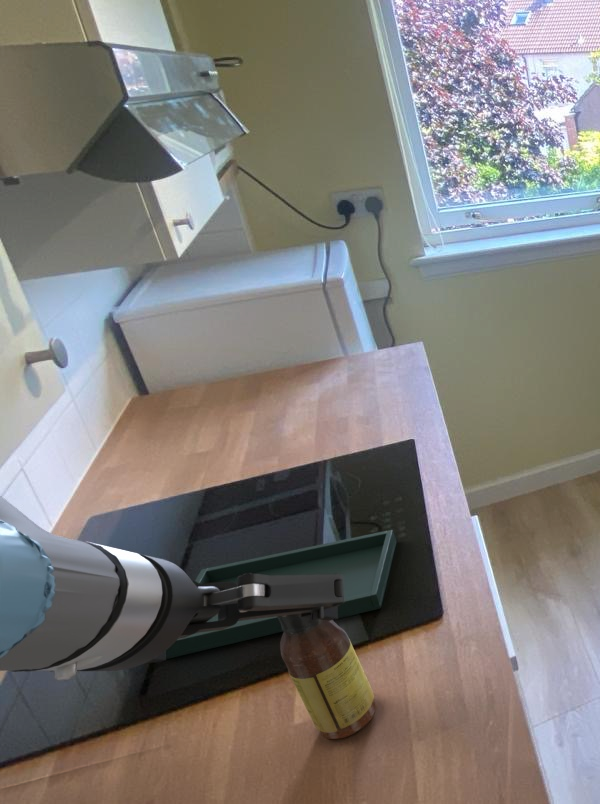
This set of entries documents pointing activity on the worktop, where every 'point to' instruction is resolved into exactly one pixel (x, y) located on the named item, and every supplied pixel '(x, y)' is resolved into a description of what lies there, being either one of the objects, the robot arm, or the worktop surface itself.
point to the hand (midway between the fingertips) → (249, 624)
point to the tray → (354, 558)
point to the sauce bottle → (327, 675)
